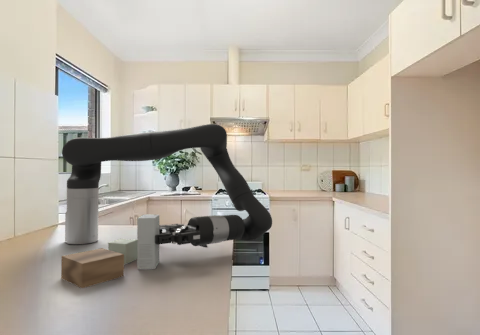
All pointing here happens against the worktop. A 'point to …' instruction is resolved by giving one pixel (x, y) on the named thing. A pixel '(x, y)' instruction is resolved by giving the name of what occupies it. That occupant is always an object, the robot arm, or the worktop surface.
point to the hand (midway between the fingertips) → (149, 236)
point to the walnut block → (92, 267)
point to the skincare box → (147, 242)
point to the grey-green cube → (125, 248)
